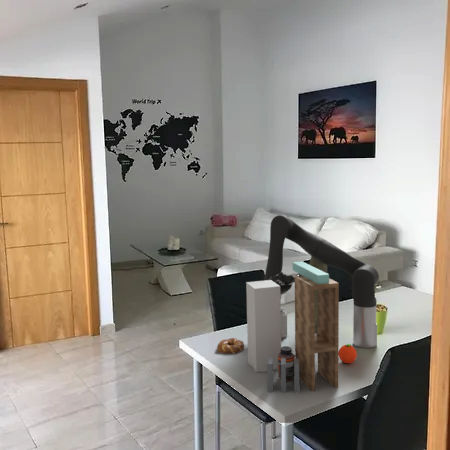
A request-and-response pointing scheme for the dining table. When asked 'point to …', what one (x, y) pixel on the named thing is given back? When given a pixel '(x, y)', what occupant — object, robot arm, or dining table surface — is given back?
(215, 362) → the dining table surface
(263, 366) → the block
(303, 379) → the stand
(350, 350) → the clementine
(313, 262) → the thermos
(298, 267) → the block
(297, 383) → the domino
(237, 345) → the braided bread ring
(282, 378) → the domino
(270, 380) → the domino
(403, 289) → the dining table surface
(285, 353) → the supplement bottle
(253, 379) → the dining table surface
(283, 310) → the can
